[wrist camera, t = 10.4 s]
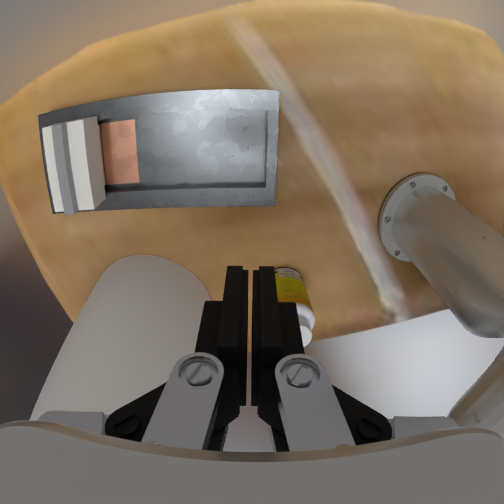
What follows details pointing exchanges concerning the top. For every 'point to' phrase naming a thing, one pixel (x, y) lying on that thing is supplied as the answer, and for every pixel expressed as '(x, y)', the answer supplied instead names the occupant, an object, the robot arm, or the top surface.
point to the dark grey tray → (183, 148)
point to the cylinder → (126, 336)
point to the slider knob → (75, 165)
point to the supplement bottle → (296, 299)
